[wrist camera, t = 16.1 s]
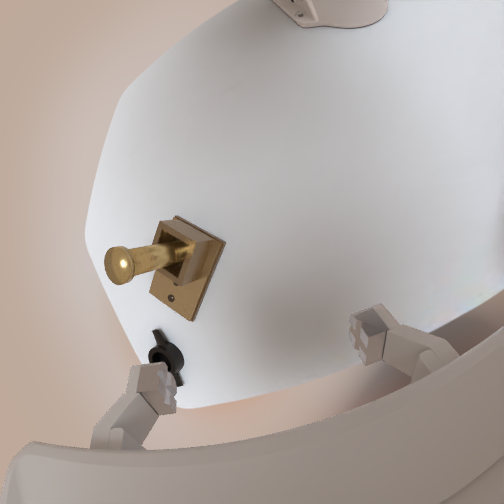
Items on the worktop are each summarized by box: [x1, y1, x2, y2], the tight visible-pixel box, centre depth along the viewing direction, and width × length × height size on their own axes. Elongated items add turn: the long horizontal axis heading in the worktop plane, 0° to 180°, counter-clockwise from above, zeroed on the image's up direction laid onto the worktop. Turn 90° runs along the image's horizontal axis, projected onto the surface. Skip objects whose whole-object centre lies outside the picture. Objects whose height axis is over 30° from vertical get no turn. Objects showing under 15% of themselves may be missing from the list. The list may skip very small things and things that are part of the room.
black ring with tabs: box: [148, 330, 184, 387], centre depth 45 cm, size 8×10×3 cm
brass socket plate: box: [149, 216, 226, 322], centre depth 40 cm, size 9×14×6 cm, turn 155°
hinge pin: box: [104, 240, 190, 285], centre depth 34 cm, size 4×4×14 cm
